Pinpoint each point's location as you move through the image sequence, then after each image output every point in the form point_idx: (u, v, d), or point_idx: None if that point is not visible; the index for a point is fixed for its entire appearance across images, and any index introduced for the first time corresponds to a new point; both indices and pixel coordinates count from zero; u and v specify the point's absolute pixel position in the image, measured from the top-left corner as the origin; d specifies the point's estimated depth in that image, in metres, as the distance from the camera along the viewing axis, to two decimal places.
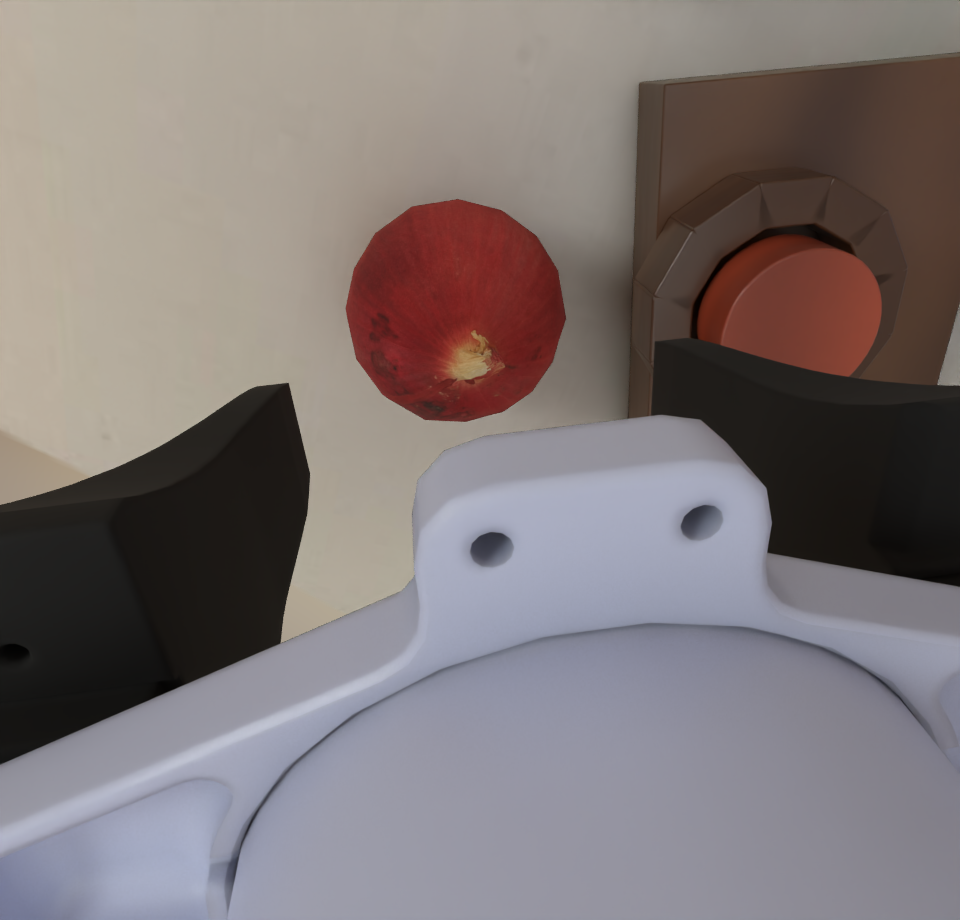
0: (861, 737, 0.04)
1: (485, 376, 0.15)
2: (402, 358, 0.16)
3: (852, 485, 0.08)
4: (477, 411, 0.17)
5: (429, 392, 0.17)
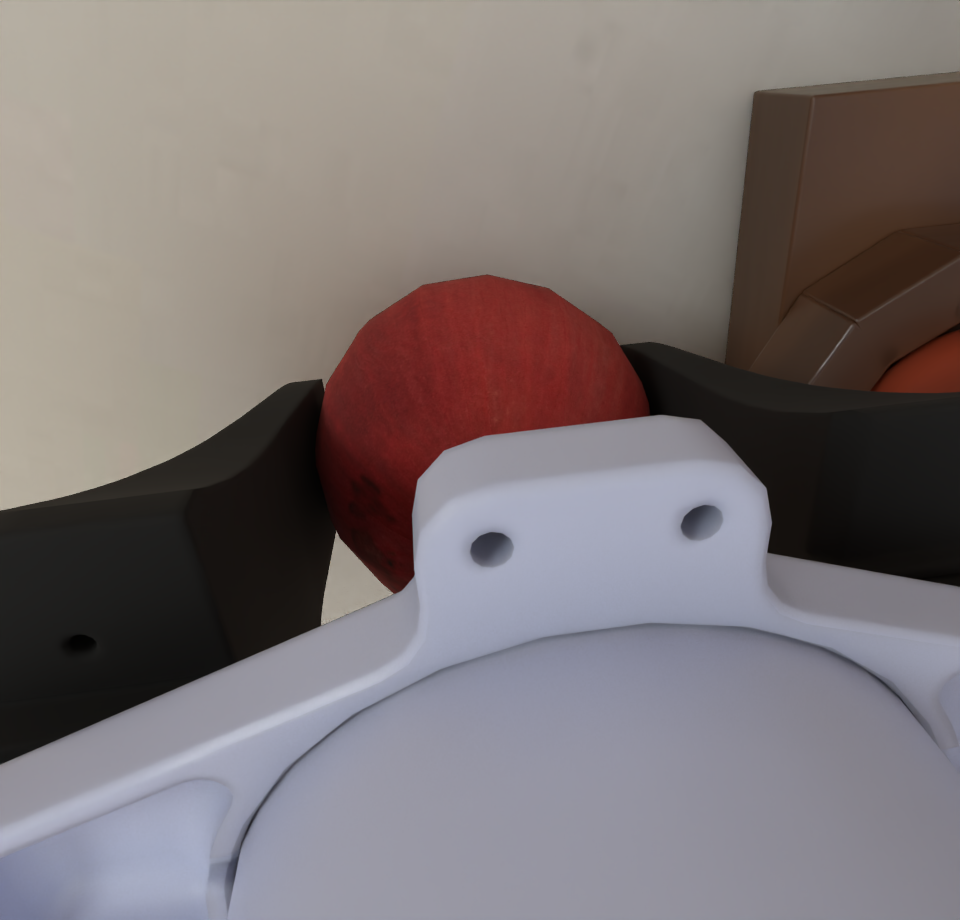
0: (861, 737, 0.04)
1: None
2: (402, 552, 0.10)
3: (791, 493, 0.08)
4: None
5: None
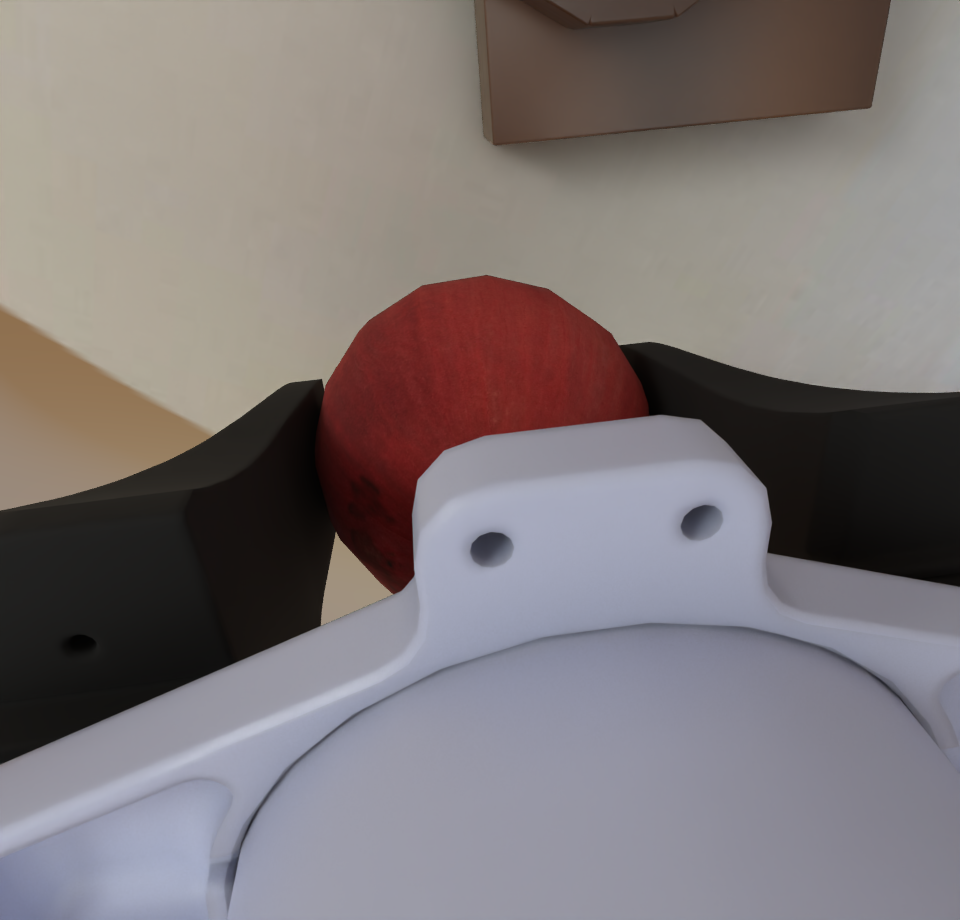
0: (861, 737, 0.04)
1: None
2: (401, 552, 0.10)
3: (791, 493, 0.08)
4: None
5: None
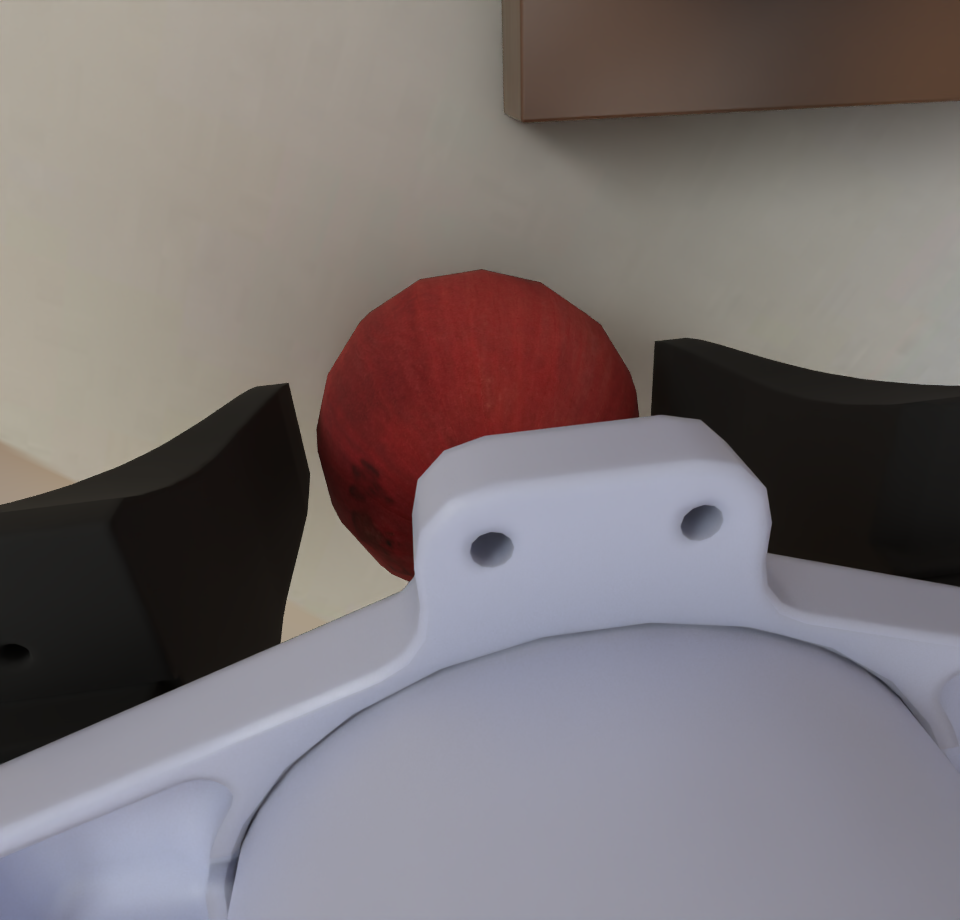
0: (861, 737, 0.04)
1: None
2: (400, 532, 0.10)
3: (852, 485, 0.08)
4: None
5: None
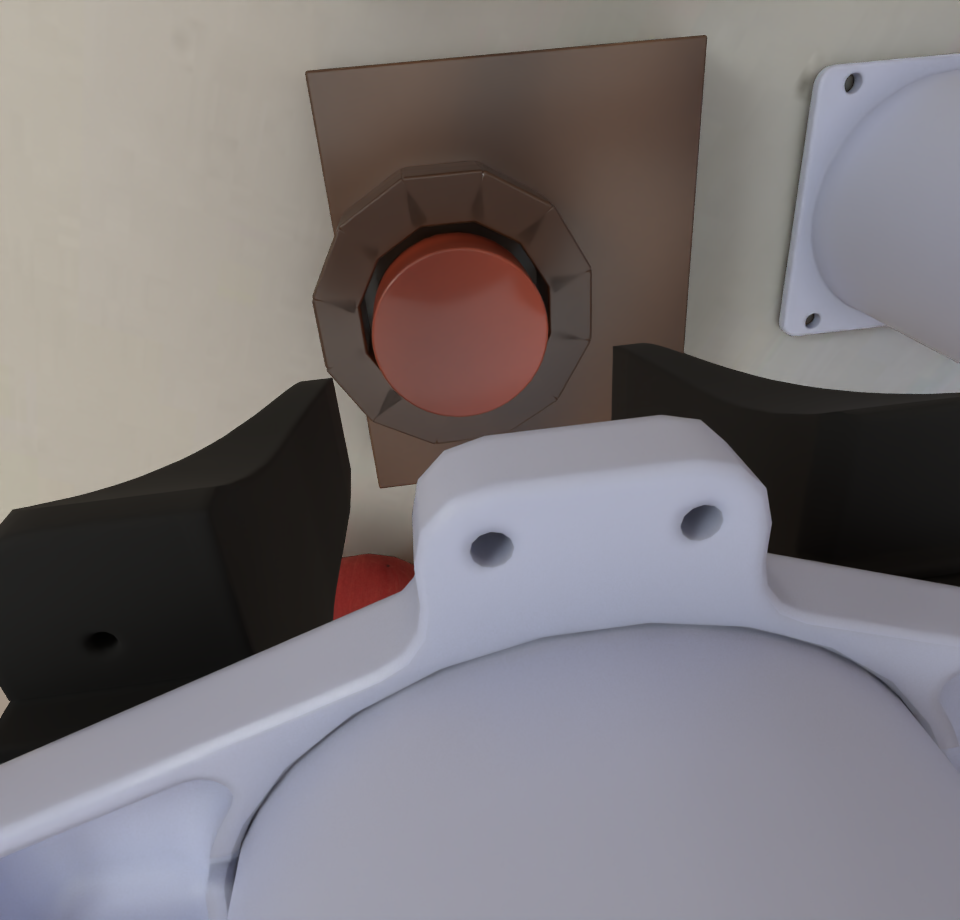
0: (861, 737, 0.04)
1: None
2: None
3: (780, 494, 0.08)
4: None
5: None
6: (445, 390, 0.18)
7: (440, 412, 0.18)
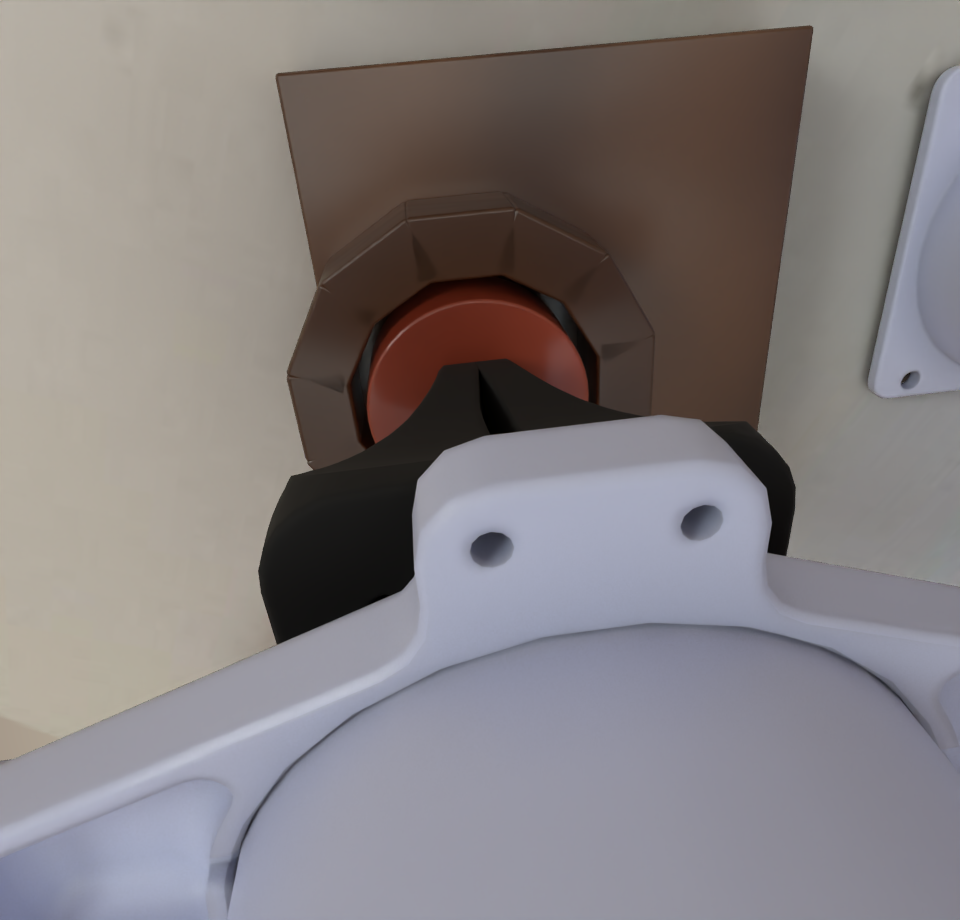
0: (861, 737, 0.04)
1: None
2: None
3: None
4: None
5: None
6: None
7: None
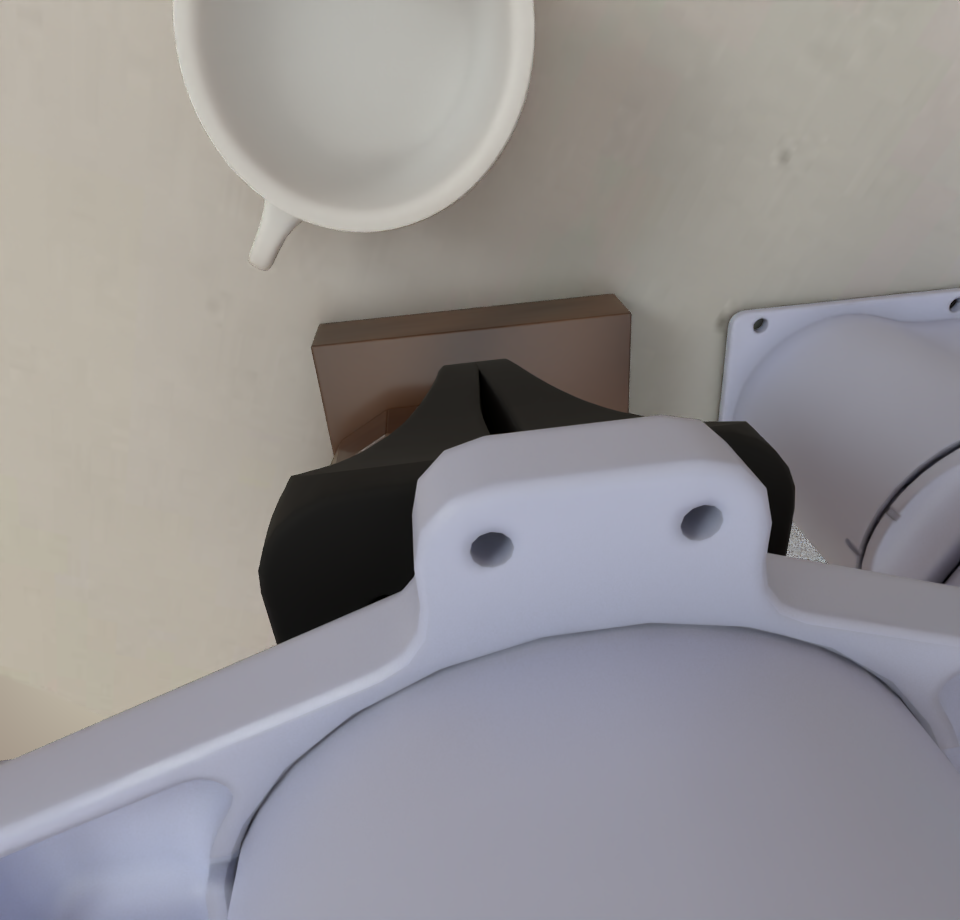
0: (861, 738, 0.04)
1: None
2: None
3: None
4: None
5: None
6: None
7: None
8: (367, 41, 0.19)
